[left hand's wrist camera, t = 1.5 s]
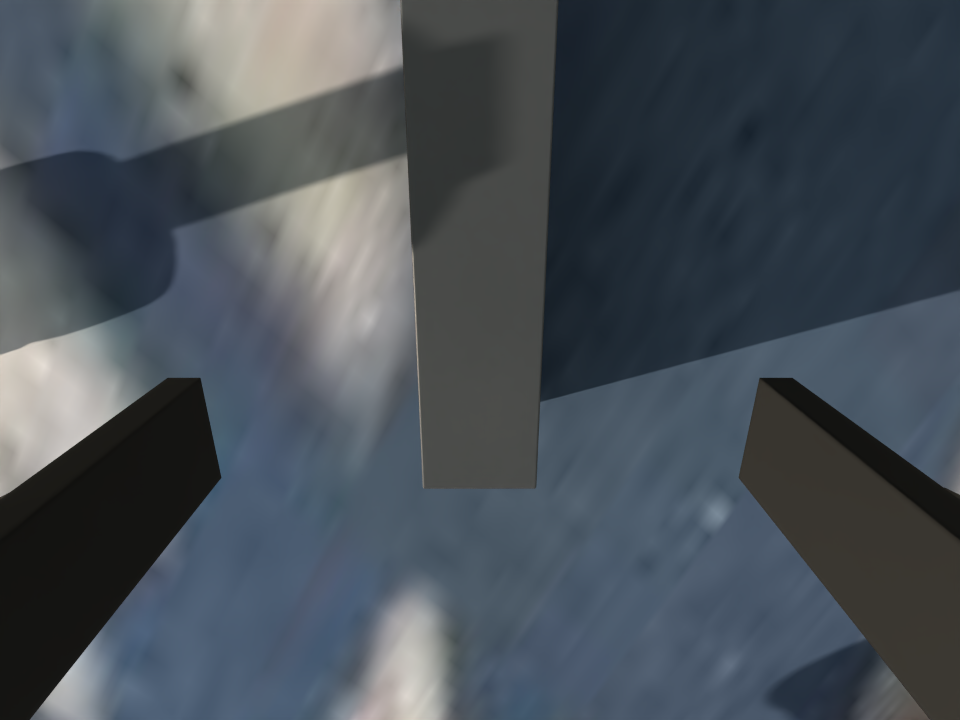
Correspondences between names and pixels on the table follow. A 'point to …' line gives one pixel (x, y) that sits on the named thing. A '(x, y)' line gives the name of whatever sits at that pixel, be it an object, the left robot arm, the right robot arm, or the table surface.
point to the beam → (479, 230)
